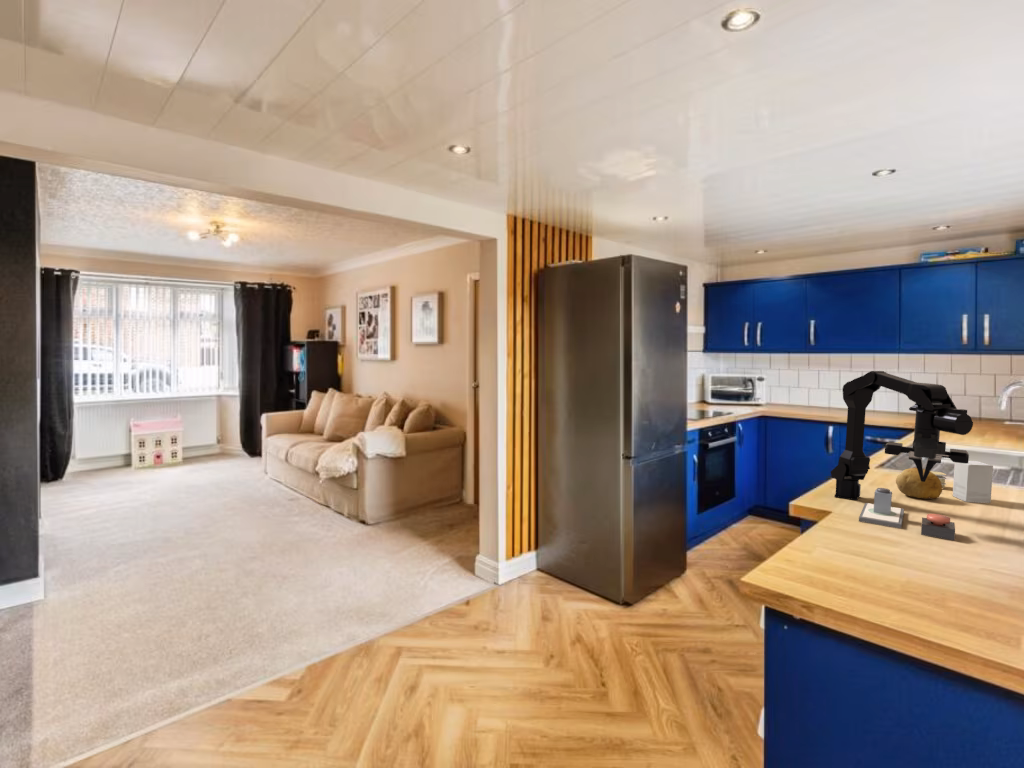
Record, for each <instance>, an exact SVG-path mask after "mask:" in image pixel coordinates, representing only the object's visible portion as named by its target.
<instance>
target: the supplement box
mask: <svg viewBox="0 0 1024 768" xmlns="http://www.w3.org/2000/svg"><path fill="white" fill-rule="evenodd" d="M993 468H994V465H992V464H988V463H985V462H982V461H979V460H968V463H967V464H965V463H957V462H954V469H953V481H952V482H953V483H952V496H953V498H954V497H955V498H956V499H958V500H961V501H964V502H965V503H966V502H967V503H977V504H978V503H979V504H981V503H982V504H991V502H992V487H993V483H992V482H993V470H994V469H993Z"/></svg>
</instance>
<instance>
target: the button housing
mask: <svg viewBox="0 0 1024 768" xmlns="http://www.w3.org/2000/svg"><path fill="white" fill-rule="evenodd" d="M920 529H921V530H920V535H921V536H925V537H931V538H932V537H933V538H939V539H944V540H949V541H955V538H956V525H955V522H953V521H950V523H949V524H943V526H942V525H936V524H933V522H931V521H928V520H927V517H921V528H920Z"/></svg>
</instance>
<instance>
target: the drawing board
mask: <svg viewBox="0 0 1024 768" xmlns="http://www.w3.org/2000/svg"><path fill="white" fill-rule="evenodd" d="M904 515H905V509H904V508H903V507H902V508H900V507H894V506H891V513H890V515H887V514H881V513H875V512H874V503H869V502H865V503H864V504H863V507H862V509H861V512H860V514H859V516H858V522H862V523H867V524H871V525H879V526H885V527H889V528H895V529H896V528H897V529H902V525H903V520H904Z"/></svg>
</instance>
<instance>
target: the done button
mask: <svg viewBox="0 0 1024 768" xmlns="http://www.w3.org/2000/svg"><path fill="white" fill-rule="evenodd" d="M926 518H927V520H928V521H931V522H933V524H936V525H942V526H943V524H949V523H950V522H951V517H949V516H947V515H944V514H938V513H927V514H926Z"/></svg>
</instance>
